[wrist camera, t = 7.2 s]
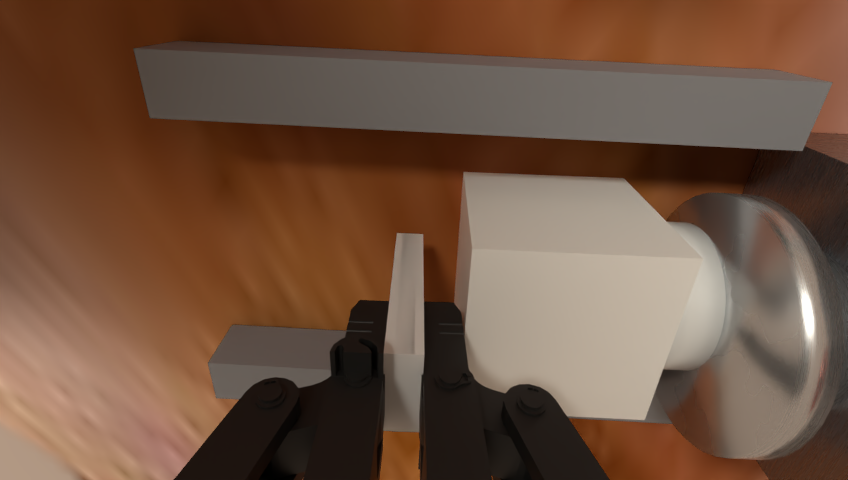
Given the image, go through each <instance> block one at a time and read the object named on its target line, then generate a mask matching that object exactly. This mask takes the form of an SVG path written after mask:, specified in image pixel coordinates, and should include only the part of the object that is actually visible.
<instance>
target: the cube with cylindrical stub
mask: <svg viewBox="0 0 848 480" xmlns="http://www.w3.org/2000/svg"><path fill="white" fill-rule="evenodd" d="M454 304H455V305H456V306H457V308H458V309H459V310H460V311H461V314H462V322H463V329H464V337H465V345H466V352H467V360H468V367H469V371H470V372H471V373H472V374H473V376H474V378H475V380H476V381H477V382H478V383H480V384H481V385H483V386H485V387H487V388H490V389H492V390H495V391H499V392H502V393H506V392H507V391H508V390H509V389H510V388H511V387H513V386H516V385H519V384H531V385H535V386H538V387H541V388H542V389H544V390H546V391H548V392H549V393H550V394H551V395H552V396H553V397H554V398H555V399H556V401H557V402H558V404H559V405H560V407H561V408H562V410H563V411H564V413H565V414H566V416H572V417H592V418H612V419H632V420H645V418H646V415H647V412H648V410H649V407H650V404H651V401H652V399H653V396H654V393H655V390H656V388H657V385H658V382H659V379H660V377H661V374H662V371H663V369H666V370H687V371H688V370H694V369H696V368H699V367H700V366H702V365H703V364H704V363H705V362H706V361H707V360H708V359H709V358H710V356H711V355H712V353H713V352H714V350H715V348H716V346H717V344H718V341H719V338H720V336H721V332H722V328H723V324H724V317H725V306H726V291H725V281H724V275H723V270H722V266H721V263H720V259H719V257H718V254H717V251H716V249H715V247H714V245H713V243H712V242H711V240H710V239H709V237H708V236H707V235H706V234H705V233H704V231H703V230H701V229H700V228H699V227H697V226H696V225H694V224H691V223H687V222H666V221H665V220H664V219H663V218H662V217H661V215H660V214H659V213H658V212H657V211H656V210H655V209H654V208H653V207H652V206H651V205H650V204H649V203H648V202H647V201H646V200H645V199H644V198H643V197H642V196H641V195H640V194H639V193H638V192H637V191H636V190H635V189H634V188H633V187H632V186H631V185H630V184H629V183H628V182H627V181H626V180H625V179H624V178H608V177H582V176H557V175H531V174H506V173H480V172H463V185H462V199H461V213H460V226H459V240H458V254H457V268H456V281H455V295H454Z"/></svg>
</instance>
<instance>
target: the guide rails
mask: <svg viewBox="0 0 848 480" xmlns="http://www.w3.org/2000/svg"><path fill="white" fill-rule="evenodd" d="M133 49H134V53H135V58H136V62H137V66H138V70H139V74H140V79H141V83H142V87H143V91H144V96H145V100H146V104H147V108H148V112H149V117H150V118H155V119H175V120H195V121H215V122H235V123H255V124H274V125H294V126H314V127H334V128H354V129H374V130H394V131H414V132H433V133H453V134H473V135H493V136H513V137H533V138H553V139H573V140H592V141H612V142H632V143H652V144H672V145H692V146H712V147H732V148H751V149H771V150H791V151H803V148H804V146H805V144H806V142H807V139H808V137H809V135H810V133H811V130H812V128H813V126H814V123H815V121H816V119H817V117H818V114H819V112H820V110H821V108H822V105H823V103H824V101H825V99H826V96H827V94H828V92H829V89H830V87H831V85H832V82H828V81H823V80H819V79H814V78H810V77H806V76H801V75H797V74H792V73H788V72H783V71H779V70H769V69H748V68H727V67H707V66H686V65H666V64H645V63H624V62H604V61H583V60H563V59H542V58H521V57H501V56H480V55H460V54H439V53H419V52H398V51H377V50H357V49H336V48H316V47H295V46H274V45H254V44H233V43H213V42H192V41H173V42H167V43H162V44H156V45H150V46H144V47H139V48H133ZM346 332H347V331H339V330H321V329H303V328H285V327H266V326H248V325H232V326H231V327H230V329H229V331H228V332H227V334H226V335H225V337H224V338H223V340H222V342H221V343H220V345H219V346H218V348H217V349H216V351H215V353H214V354H213V356H212V357H211V359H210V361H209V362H208V366H209V370H210V374H211V378H212V383H213V387H214V391H215V395H216V398H223V399H240V398H241V397H242V396H243V394H244V393H245V392H246V391H247V390H248V389H249V388H250V387H251V386H253V385H254V384H255V383H257V382H260V381H262V380H264V379H268V378H273V377H279V378H286V379H288V380H291V381H293V382H294V383H295V384H296V386H297V387H298V388H301V387H306V386H310V385H314V384H317V383H320V382H322V381H324V380H326V379H327V378H329V377H330V376H331V366H330V350H331V348H332V346H333V344H335V343H336V342H338V341H339V340H340V339H342V338H345V335H346ZM567 417H568V418H577V419H595V420H613V421H630V422H648V423H666V424H673V423H672V422H671V420H670V419H669V417H668V416H667V414H666V412H665V411H664V409H663V407H662V405H661V403H660V401H659V399H658V397H657V394H656V392H655V393H654V396H653V399H652V401H651V404H650V407H649V410H648V412H647V415H646V418H645V420H632V419H612V418H592V417H572V416H567Z"/></svg>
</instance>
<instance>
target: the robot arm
mask: <svg viewBox="0 0 848 480" xmlns="http://www.w3.org/2000/svg"><path fill="white" fill-rule="evenodd" d="M330 366H331V376H330V377H329V378H327V379H326V380H324V381H322V382H320V383H317V384H314V385H310V386H306V387H301V388H298V387H297V386H296V384H295V383H294V382H293V381H291V380H288V379H286V378H279V377H273V378H268V379H264V380H262V381H260V382H257V383H255V384H254V385H253V386H251V387H250V388H249V389H248V390H247V391H246V392H245V393H244V394H243V396H242V397H241V398H240V399H239V401H238V402H237V403H236V404H235V405H234V407H233V408H232V409H231V410H230V412H229V413H228V414H227V415H226V417H225V418H224V419H223V420H222V421H221V423H220V424H219V425H218V426H217V428H216V429H215V430H214V431H213V432H212V434H211V435H210V436H209V437H208V439H207V440H206V441H205V442H204V443H203V445H202V446H201V447H200V448H199V450H198V451H197V452H196V453H195V454H194V456H193V457H192V458H191V459H190V461H189V462H188V463H187V464H186V465H185V467H184V468H183V469H182V470H181V472H180V473H179V474H178V475H177V477H176V478H175V479H174V480H302V479H303V480H379V478H380V469H381V460H382V451H383V431H395V432H419V438H420V452H419V468H418V469H420V480H492V477H491V475H492V476H493V480H609V478H608V477H607V475H606V474H605V472H604V471H603V469H602V468H601V466H600V465H599V463H598V462H597V460H596V459H595V457H594V456H593V454H592V453H591V451H590V450H589V448H588V447H587V445H586V444H585V442H584V441H583V439H582V438H581V436H580V435H579V433H578V432H577V430H576V429H575V427H574V426H573V425H572V423H571V422H570V420H569V419H568V417H567V416H566V414H565V413H564V411H563V410H562V408H561V407H560V405H559V404H558V402H557V401H556V399H555V398H554V397H553V396H552V395H551V394H550V393H549V392H548V391H546V390H544V389H542V388H541V387H538V386H535V385H531V384H519V385H516V386H513V387H511V388H510V389H509V390H508V391H507V392H506V393H502V392H499V391H495V390H492V389H490V388H487V387H485V386H483V385H481V384H480V383H478V382H477V381H476V380H475V378H474V376H473V374H472V373H471V372H470V371H469V367H468V360H467V352H466V345H465V337H464V329H463V322H462V314H461V311H460V310H459V309H458V308H457V306H456V305H455V304H454V303H450V302H424V268H423V234H409V233H397V237H396V246H395V255H394V264H393V273H392V282H391V291H390V300H389V301H369V300H360V301H359V302H358V303H357V304H356V305H355V306H354V307H353V308H352V309H351V313H350V318H349V323H348V326H347V332H346V335H345V338H342V339H340V340H339V341H338V342H336V343H335V344H333V346H332V348H331V350H330ZM303 477H304V478H303Z"/></svg>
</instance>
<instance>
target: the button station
mask: <svg viewBox="0 0 848 480" xmlns="http://www.w3.org/2000/svg"><path fill="white" fill-rule="evenodd" d="M666 222H687V223H691V224H694V225H696V226H697V227H699V228H700V229H701V230H703V231H704V233H705V234H706V235H707V236H708V237H709V239H710V240H711V242H712V243H713V245H714V247H715V249H716V251H717V254H718V257H719V259H720V263H721V266H722V270H723V275H724V281H725V291H726V306H725V317H724V324H723V328H722V332H721V336H720V338H719V341H718V344H717V346H716V348H715V350H714V352H713V353H712V355H711V356H710V358H709V359H708V360H707V361H706V362H705V363H704V364H703V365H702V366H700V367H699V368H696V369H694V370H688V371H687V370H666V369H663V371H662V374H661V377H660V379H659V382H658V385H657V388H656V390H655V392H656V394H657V397H658V399H659V401H660V403H661V405H662V407H663V409H664V411H665V412H666V414H667V416H668V417H669V419H670V420H671V422H672V423H673V425H674V426H675V427H676V429H677V430H678V431H679V432H680V433H681V434H682V435H683V436H684V438H685V439H686V440H688V441H689V442H690V443H691V444H692V445H694V446H695V447H697V448H698V449H700V450H702V451H703V452H705V453H707V454H710V455H713V456H716V457H722V458H733V459H751V460H756V461H757V462H758V464H759V465H760V467H761V468H762V470H763V471H764V473H765V474H766V476H767V477H768V478H769V480H848V134H827V133H810V135H809V137H808V139H807V142H806V144H805V146H804V148H803V151H791V150H771V149H760V151H759V154H758V156H757V159H756V161H755V164H754V166H753V169H752V171H751V174H750V176H749V179H748V181H747V184H746V187H745V189H744V192H743V194H732V193H705V194H701V195H698V196H695V197H693V198H691V199H689V200H687V201H686V202H684V203H683V204H682V205H680V206H679V207H678V208H677V209H676V210H675V211H674V212H673V213H672V214H671V215H670V216H669V218H668V219H667V221H666Z"/></svg>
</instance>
